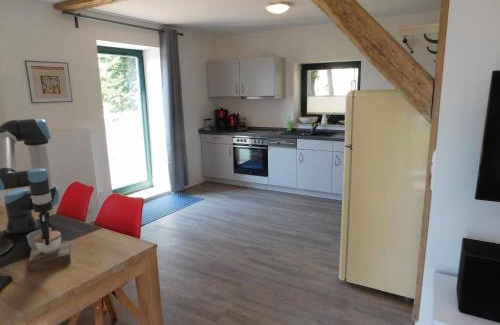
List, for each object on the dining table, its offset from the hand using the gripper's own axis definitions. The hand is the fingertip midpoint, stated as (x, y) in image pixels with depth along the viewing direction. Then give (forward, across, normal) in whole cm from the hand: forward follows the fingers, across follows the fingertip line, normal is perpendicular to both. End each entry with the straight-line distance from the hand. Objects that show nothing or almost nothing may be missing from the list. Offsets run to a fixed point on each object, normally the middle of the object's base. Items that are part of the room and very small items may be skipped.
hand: (49, 245), depth 153 cm
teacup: (+8, -19, -4) cm, 21 cm away
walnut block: (+8, 0, 0) cm, 8 cm away
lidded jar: (+3, 0, 0) cm, 3 cm away
